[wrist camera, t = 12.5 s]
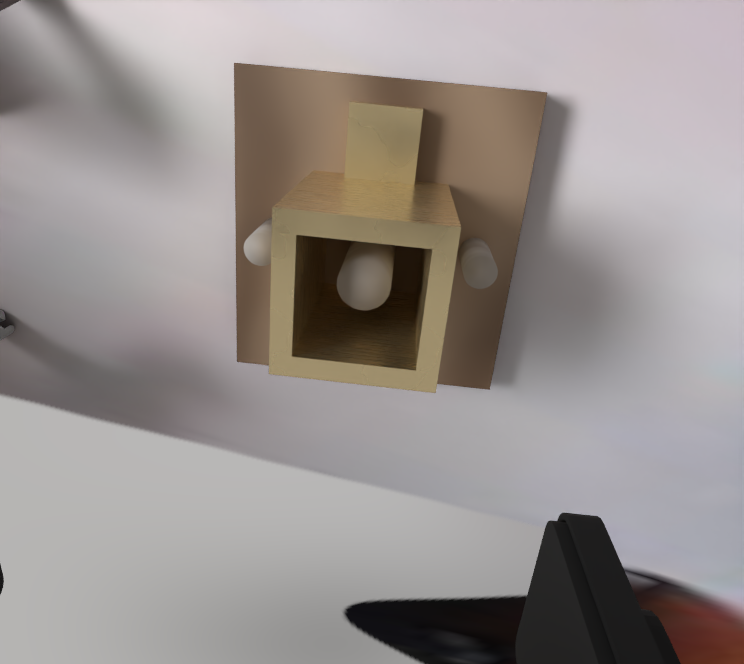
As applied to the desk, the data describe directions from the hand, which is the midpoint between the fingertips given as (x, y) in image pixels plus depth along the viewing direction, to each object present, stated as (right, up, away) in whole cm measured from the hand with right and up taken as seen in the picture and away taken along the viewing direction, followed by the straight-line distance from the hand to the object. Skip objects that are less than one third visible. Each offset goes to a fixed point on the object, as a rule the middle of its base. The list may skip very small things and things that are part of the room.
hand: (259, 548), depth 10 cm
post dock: (+2, +8, +19) cm, 20 cm away
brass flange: (+2, +8, +17) cm, 19 cm away
